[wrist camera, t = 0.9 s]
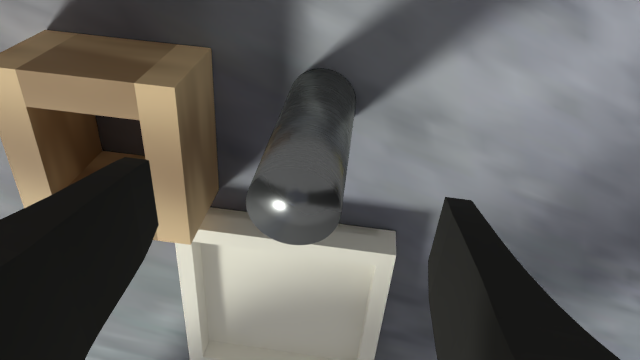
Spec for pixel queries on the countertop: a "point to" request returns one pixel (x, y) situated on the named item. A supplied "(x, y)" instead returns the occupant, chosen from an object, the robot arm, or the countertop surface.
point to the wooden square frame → (113, 101)
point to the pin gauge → (305, 161)
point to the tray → (283, 292)
